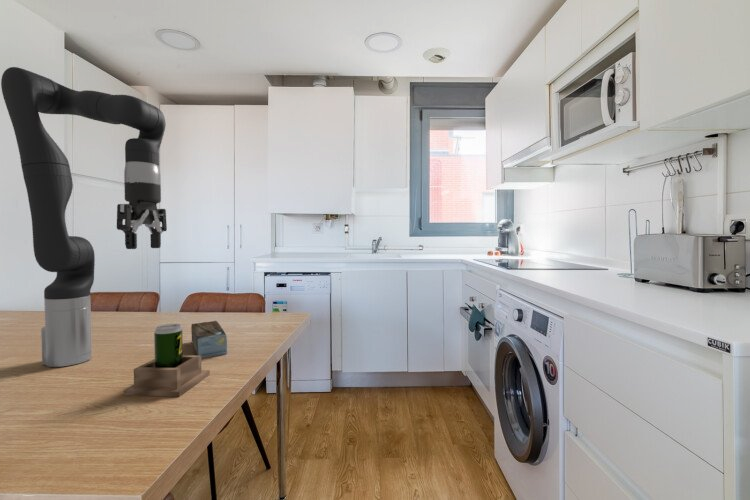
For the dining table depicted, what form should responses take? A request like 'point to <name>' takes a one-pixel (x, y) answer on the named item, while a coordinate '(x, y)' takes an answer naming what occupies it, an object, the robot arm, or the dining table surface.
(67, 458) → the dining table surface
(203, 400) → the dining table surface
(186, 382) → the walnut holder
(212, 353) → the beverage carton
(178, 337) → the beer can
